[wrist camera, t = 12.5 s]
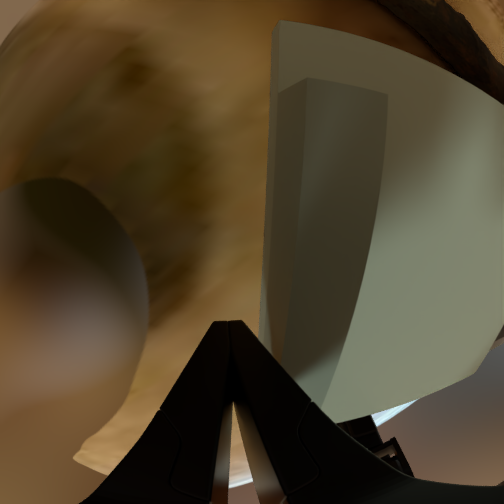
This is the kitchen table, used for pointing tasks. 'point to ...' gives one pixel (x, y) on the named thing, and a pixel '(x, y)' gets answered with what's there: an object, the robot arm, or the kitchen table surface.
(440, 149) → the lid
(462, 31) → the dark brown rough bar
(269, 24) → the kitchen table surface
